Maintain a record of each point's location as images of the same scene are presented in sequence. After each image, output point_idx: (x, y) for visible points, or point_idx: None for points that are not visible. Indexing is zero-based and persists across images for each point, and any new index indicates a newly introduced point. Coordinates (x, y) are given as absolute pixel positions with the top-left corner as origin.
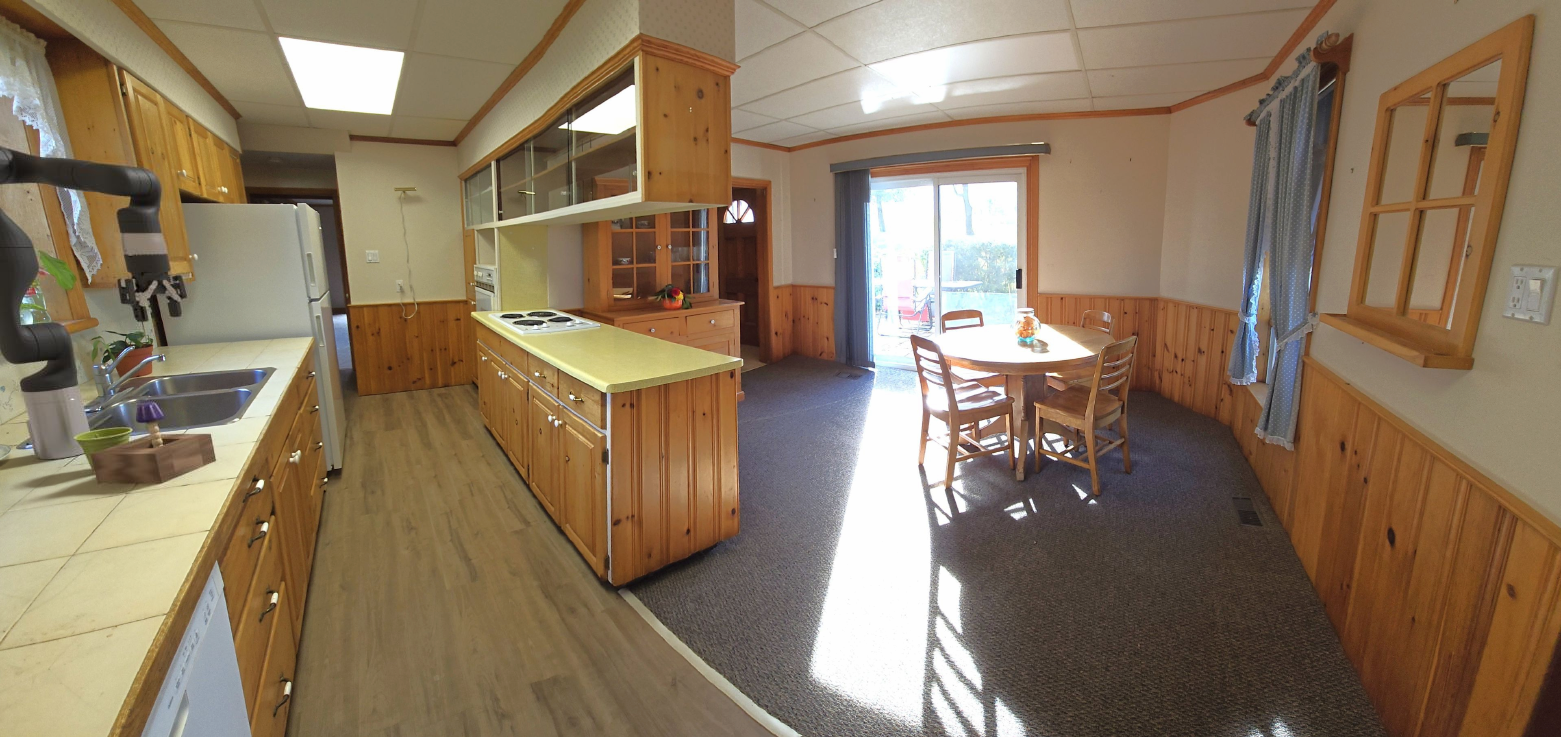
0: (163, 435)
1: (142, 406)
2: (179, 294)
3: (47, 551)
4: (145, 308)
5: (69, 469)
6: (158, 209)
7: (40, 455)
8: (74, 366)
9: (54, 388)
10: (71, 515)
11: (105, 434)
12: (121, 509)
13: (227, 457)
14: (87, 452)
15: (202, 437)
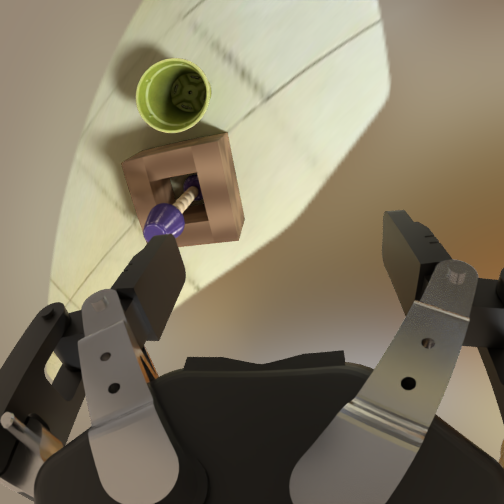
0: (214, 171)
1: (145, 239)
2: (494, 340)
3: (63, 280)
4: (159, 329)
5: (174, 40)
6: None
7: None
8: None
9: None
10: (88, 228)
11: (193, 67)
12: (111, 258)
13: (260, 221)
14: (153, 96)
15: (222, 241)
